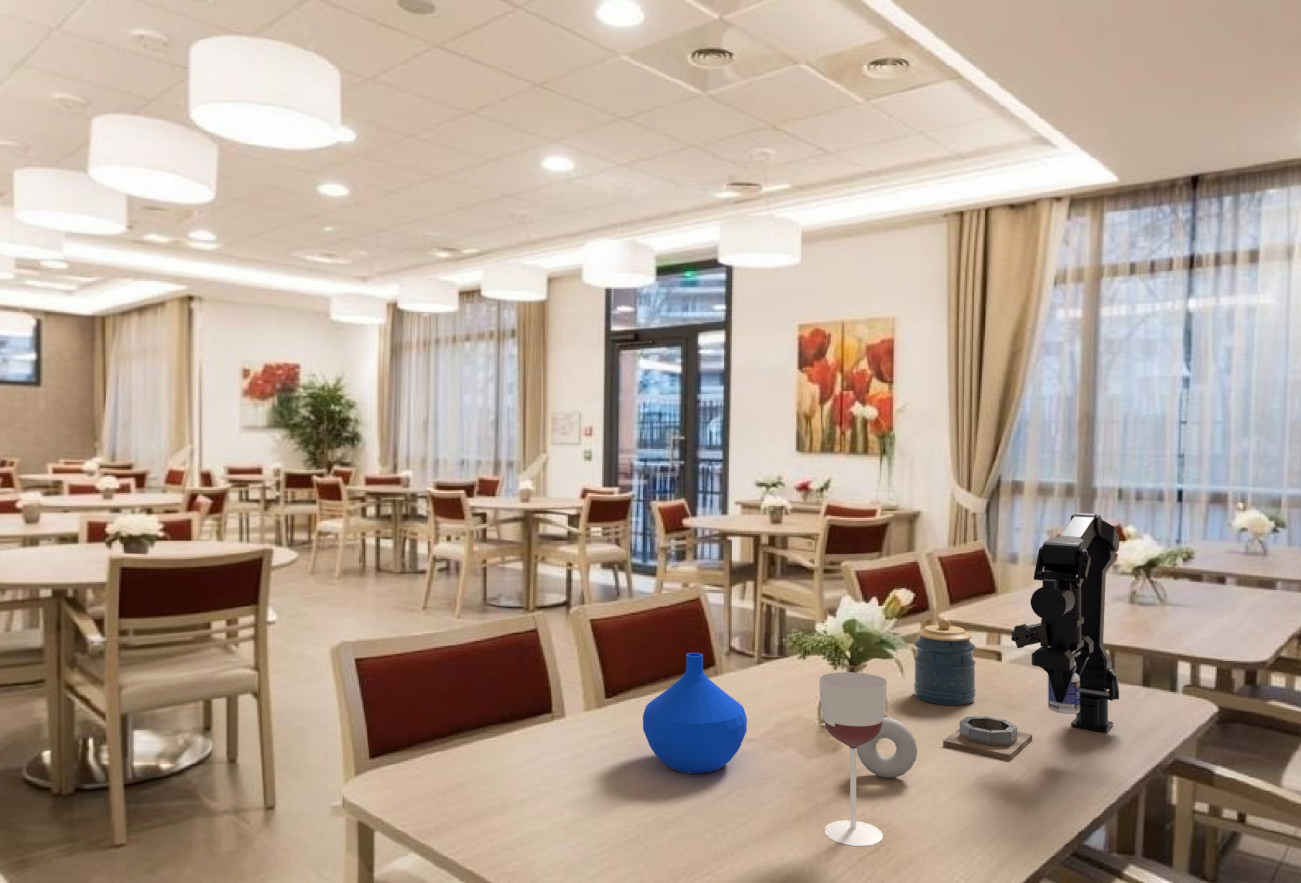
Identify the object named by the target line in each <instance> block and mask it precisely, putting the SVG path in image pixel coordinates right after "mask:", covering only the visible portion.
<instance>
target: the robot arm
mask: <svg viewBox="0 0 1301 883" xmlns="http://www.w3.org/2000/svg"><path fill="white" fill-rule="evenodd" d="M1119 548H1120V536H1119V533H1118V531H1117V529H1116V527H1115V526H1113V525H1112V524H1110V523H1108V522H1107V521H1105V520H1103V518H1102V516H1101V515H1100V514H1097V513H1089V512H1088V513H1086V512H1076V513H1072V514H1071V517H1070V522H1069V523H1068V524H1067V526H1066V527H1065V528H1064V530H1063V531H1062V533H1061V534H1060V536H1056V537H1050V538H1048V539H1046V540H1045V541H1044V542H1043V544H1042V546H1040V547H1039V548H1038V553H1037V557H1036V563H1035V568H1034V572H1033V573H1034V574H1033V580H1034V581H1042V586H1041V587H1039V588H1038V589H1036V590H1035V591H1033V593H1032V595H1031V598H1030V606H1031V609H1032V612H1033V613H1034V614H1035V615H1036V616H1037V617H1039V618H1041V619H1040V622H1038V623H1035V624H1029V625H1027V624H1025V623H1022V624H1019V625H1018V624H1017V625H1015V626H1014V627H1013V630H1012V631H1011V637H1010V639H1011V641H1012V642H1014V643H1015V646H1016V649H1022V648H1025V647H1027V646H1031V645H1036V644H1040V646H1039V648H1038V649H1036V650H1035V651H1034V652H1032V653H1031V665H1032V666H1034V667H1039V668H1041V669H1042V670H1044V671H1045V672H1046V674H1047V677H1048V676H1049V679H1050V682H1051V685H1052V689H1053V692H1054V696H1055V699H1056V702H1060V703H1063V701H1064V699H1065V697H1066V694H1067V692H1068V689H1069V686H1070V684H1071V681H1072V679H1073V676H1074V674H1075V673H1076V674H1078V675H1079V677H1080V712H1079V713H1076V714H1075V718H1074V719H1073V720H1072V721H1071V722H1070V726H1071V727H1075V728H1081V729H1087V730H1091V731H1092V730H1093V731H1096V732H1103V733H1107V732H1109V730H1110V729H1111V728H1112V726H1114V722H1113V721H1110V720H1109V701H1111V702H1113V701H1114V700H1119V699H1120V687H1119V686H1120V685H1119V681H1118V677H1117V676H1116V673H1115V669H1113V667H1112V662H1113V661H1112V659H1111V658H1110V656H1109V654H1108V652H1107V650H1106V649H1105V647H1104V634H1105V633H1104V632H1105V627H1104V626H1105V608H1106V606H1105V604H1106V577H1107V572H1108V571H1109V569H1110V568H1111V567H1112V565H1113V564H1114V563H1115V561H1116V553H1118V552H1119V550H1120V549H1119ZM1075 662H1076V666H1074V663H1075Z"/></svg>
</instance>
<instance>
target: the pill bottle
mask: <svg viewBox="0 0 1301 883" xmlns="http://www.w3.org/2000/svg"><path fill="white" fill-rule="evenodd" d="M1074 666H1076V662H1075V663H1074ZM1047 708H1048V709H1049V711H1051V712H1053V713H1054V712H1055V713H1056V714H1057V713H1058V714H1065V715H1073V714H1075V715H1076V713H1079V712H1080V677H1079V675H1078V674H1076V673H1075V674H1074V676H1073V679H1072V681H1071V684H1070V686H1069V689H1068V692H1067V694H1066V697H1065V699H1064V701H1063V703H1060V702H1056V699H1055V696H1054V692H1053V689H1052V685H1051V682H1050V679H1049V676H1048V675H1047Z"/></svg>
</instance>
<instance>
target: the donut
mask: <svg viewBox="0 0 1301 883" xmlns="http://www.w3.org/2000/svg"><path fill="white" fill-rule="evenodd" d="M882 739H888V740H891V741H892V742H893V743H894V745H895V748H896V749H895V753H894V754H893V755H891V756H885V755H884V756H883V755H882V754H880V752H879V751H878V749H877V744H878V743H879V741H880V740H882ZM856 755H857V756H858V758H859V760H860V762H861V764H862V765H863V766H864V768H866V769H867V770H868V771H869V772H871V773H872V774H874V775H875V776H878V777H881V778H885V779H891V778H892V779H894V778H895V779H896V778H898V777H901V776H904V775H905V774H906V773H908V771H910V770H911V769H912V767H913V765H914V764H915V762H916V759H917V755H918V748H917V742H916V739H915V737H914V735H913V732H912V731H911V730H910V729H909V728H908V727H907V726H906V725H905V724H904V723H902V722H900V721H899V720H897V719H895V718H890V717H886V716H884V717H883V723H882V727H881V730H880V732H879V734H878V735H877V736H876V737H875V738H874V739H872V740H871V741H869V742H867V743H865V744H862V745H860V746H858V747H857V748H856Z"/></svg>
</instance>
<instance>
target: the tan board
mask: <svg viewBox="0 0 1301 883" xmlns="http://www.w3.org/2000/svg"><path fill="white" fill-rule="evenodd" d="M1031 741H1033V734H1031V733H1027V732H1022V731H1019V730H1017V741H1016V742H1015V743H1013V744H1012V745H1011V746H986V745H982V744H977V743H972V742H969V741H967V740H966V739H964V738H963V737H962V736H960V728H958V729H957V730H955V731H954V732H952V734H950V735H949V736H947V737H946V738H944V740H942V746H943V747H946V748H947V747H948V748H949V749H950V748H952V749H956V750H959V751H964V752H969V753H974V754H978V755H983V756H989V757H993V758H998V759H1002V760H1006V761H1011V760H1013V759H1014V757H1015V756H1017V755H1018V754H1019V753H1020V752H1022V750H1023V749H1024V748H1025V747H1026V746H1027V745H1029V743H1031Z"/></svg>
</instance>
